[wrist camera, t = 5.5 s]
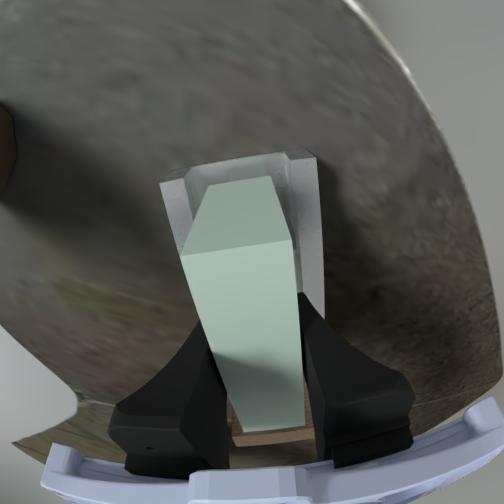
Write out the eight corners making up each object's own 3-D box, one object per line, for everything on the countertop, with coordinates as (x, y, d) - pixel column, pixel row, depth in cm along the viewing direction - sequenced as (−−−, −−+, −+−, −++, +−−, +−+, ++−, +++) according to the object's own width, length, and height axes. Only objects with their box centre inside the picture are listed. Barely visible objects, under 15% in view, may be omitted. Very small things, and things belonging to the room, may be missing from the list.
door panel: (294, 330, 19) (311, 424, 12) (243, 337, 19) (244, 432, 13) (276, 174, 14) (302, 237, 8) (208, 185, 14) (180, 256, 8)
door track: (317, 380, 25) (328, 435, 20) (237, 390, 25) (236, 446, 20) (304, 148, 15) (334, 172, 10) (173, 170, 16) (138, 204, 11)
